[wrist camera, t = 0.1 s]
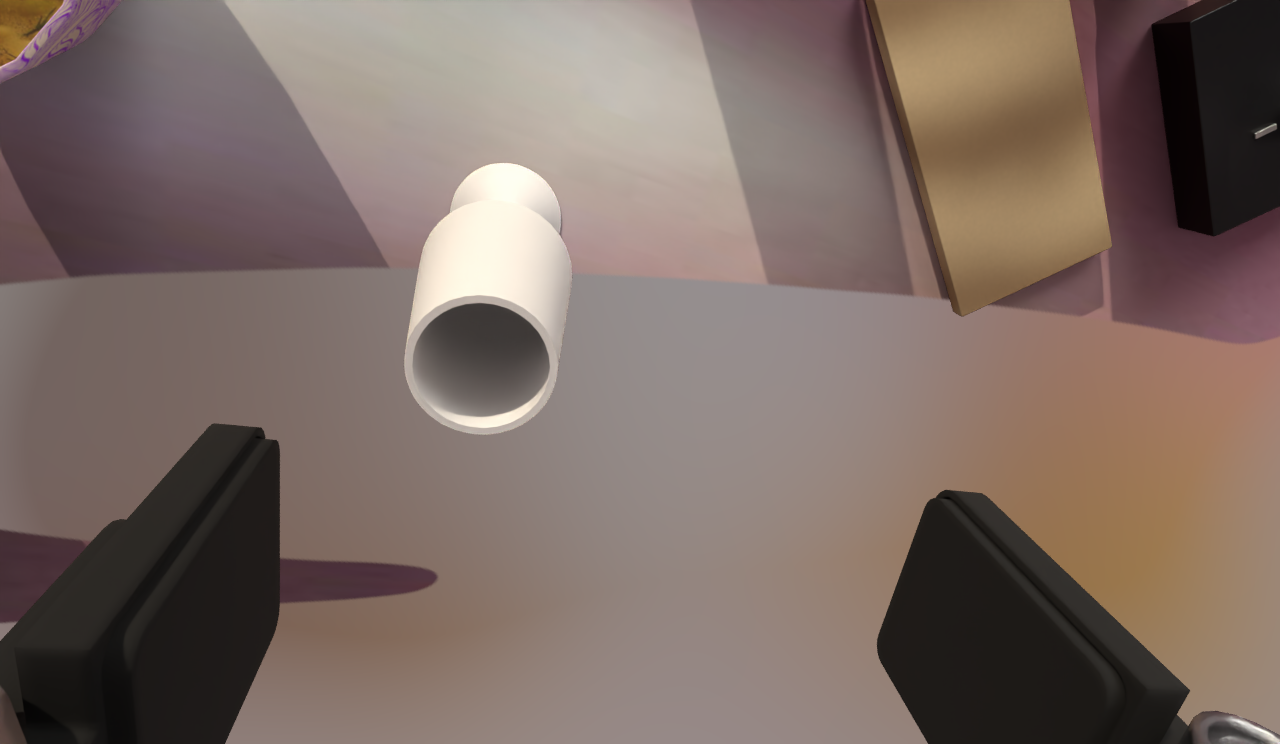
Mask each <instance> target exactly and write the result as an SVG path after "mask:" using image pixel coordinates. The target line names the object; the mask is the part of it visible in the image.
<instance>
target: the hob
mask: <svg viewBox="0 0 1280 744" xmlns="http://www.w3.org/2000/svg"><path fill="white" fill-rule="evenodd" d="M1152 32H1153V39H1154V47H1155V55H1156V62H1157V70H1158V77H1159V85H1160V92H1161V100H1162V107H1163V115H1164V122H1165V130H1166V137H1167V145H1168V153H1169V160H1170V168H1171V175H1172V183H1173V190H1174V198H1175V205H1176V213H1177V220H1178V227H1179V228H1183V229H1186V230H1190V231H1194V232H1198V233H1202V234H1206V235H1210V236H1216V235H1219V234H1221V233H1223V232H1225V231H1227V230H1229V229H1232V228H1234V227H1236V226H1238V225H1240V224H1242V223H1244V222H1247V221H1249V220H1251V219H1253V218H1255V217H1257V216H1260V215H1262V214H1264V213H1266V212H1268V211H1270V210H1273V209H1275V208H1277V207H1279V206H1280V0H1201V1H1199V2H1197V3H1195V4H1193V5H1191V6H1189V7H1187V8H1185V9H1183V10H1181V11H1178V12H1176V13H1174V14H1172V15H1170V16H1168V17H1166V18H1164V19H1162V20H1160V21H1158V22H1156V23H1153V24H1152Z"/></svg>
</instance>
